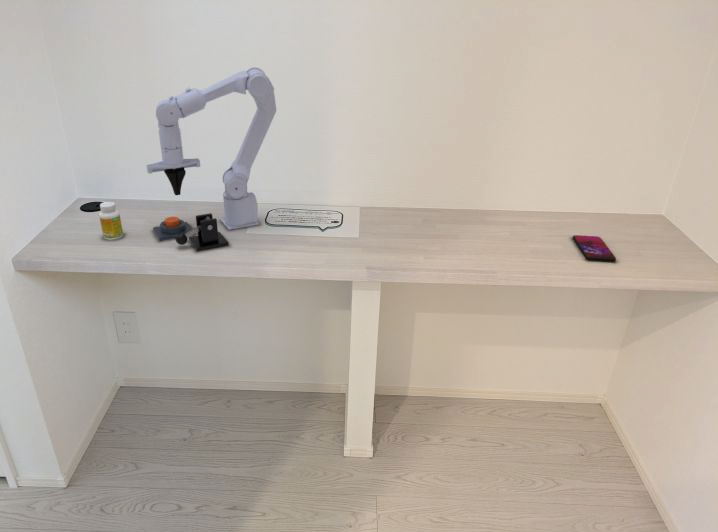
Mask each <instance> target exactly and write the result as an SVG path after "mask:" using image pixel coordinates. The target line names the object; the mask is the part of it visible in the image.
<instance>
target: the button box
mask: <svg viewBox="0 0 718 532" xmlns="http://www.w3.org/2000/svg"><path fill="white" fill-rule="evenodd" d="M179 221H180V225H178V226H175V227H167V226H166V225H165V220H163V221H161V222H160V223H159V226H153V227H152V231H153V233H154V234H155V236H156V238H157V239H158V241H159V242H162V241H163V242H164V241H170V240H173V239H175V238H176V235H177V234H179V233H184V234H186V233H187V232H189V231H191V230H192V229H193V228H192V227H191V226H190V224H189V223H188V221H185V220H183V219H180V218H179Z"/></svg>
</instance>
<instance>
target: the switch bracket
mask: <svg viewBox="0 0 718 532" xmlns="http://www.w3.org/2000/svg"><path fill="white" fill-rule="evenodd" d="M207 216H208V217H209V218H210V219H208V220H203V219H204V218H206V217H207ZM201 220H202V221H201ZM195 221H196V222H195V223H196V227H197V226H199V225H200V227H201V230H200V231H199V232H197V233H196V234H197V235H192V236H190V237H189V238H188V242H189V243H190V244H191V246H192V247H193V249H194V250H195V251H196V253H199V252H204V251H209V250H214V249H219V248H220V249H221V248H224V247H229V245H230V244H229V241H228V240H227V239H226V238H225V237H224V235H223V234H222V233H221V232H220V231H219V229H218V219H217V218H216V217H215V218H213V213H212V212H209V213H203V214H198V215H195ZM199 221H200V222H199Z"/></svg>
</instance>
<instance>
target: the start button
mask: <svg viewBox="0 0 718 532" xmlns="http://www.w3.org/2000/svg"><path fill="white" fill-rule="evenodd" d="M179 219H180V217H178V216H168V217H166V218H165V219H164V221H165V225H166V226H167V227H175V226H178V225H180V221H179Z"/></svg>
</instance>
